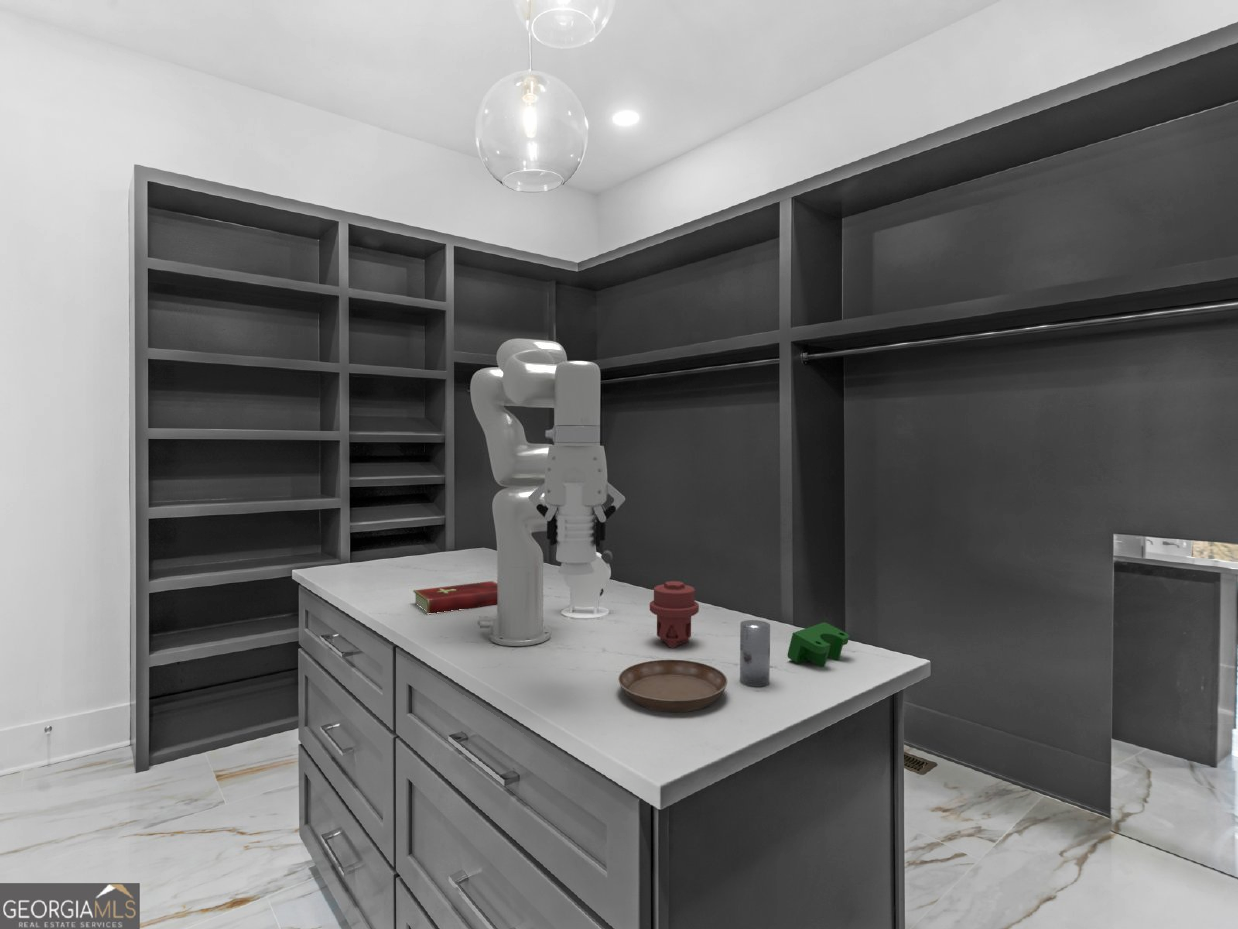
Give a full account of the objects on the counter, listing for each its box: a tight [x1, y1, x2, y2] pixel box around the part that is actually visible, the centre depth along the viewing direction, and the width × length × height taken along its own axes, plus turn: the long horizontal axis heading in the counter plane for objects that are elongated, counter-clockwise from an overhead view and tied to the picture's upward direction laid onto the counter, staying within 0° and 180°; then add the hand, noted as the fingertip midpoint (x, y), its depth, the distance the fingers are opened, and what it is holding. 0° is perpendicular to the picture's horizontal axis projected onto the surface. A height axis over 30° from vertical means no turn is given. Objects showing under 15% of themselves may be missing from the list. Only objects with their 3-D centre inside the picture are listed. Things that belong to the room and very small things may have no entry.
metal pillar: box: [739, 619, 771, 688], centre depth 111 cm, size 5×5×10 cm
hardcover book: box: [412, 580, 497, 614], centre depth 164 cm, size 12×21×4 cm, turn 123°
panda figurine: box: [561, 549, 614, 620], centre depth 155 cm, size 12×11×15 cm
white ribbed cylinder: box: [555, 482, 598, 575], centre depth 108 cm, size 7×7×15 cm
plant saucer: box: [617, 659, 728, 713], centre depth 106 cm, size 18×18×3 cm
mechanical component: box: [649, 580, 700, 648], centre depth 133 cm, size 12×10×10 cm
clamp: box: [787, 621, 850, 668], centre depth 123 cm, size 12×6×9 cm, turn 125°
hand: (576, 543), depth 108 cm, fingers closed on white ribbed cylinder, 6 cm apart
